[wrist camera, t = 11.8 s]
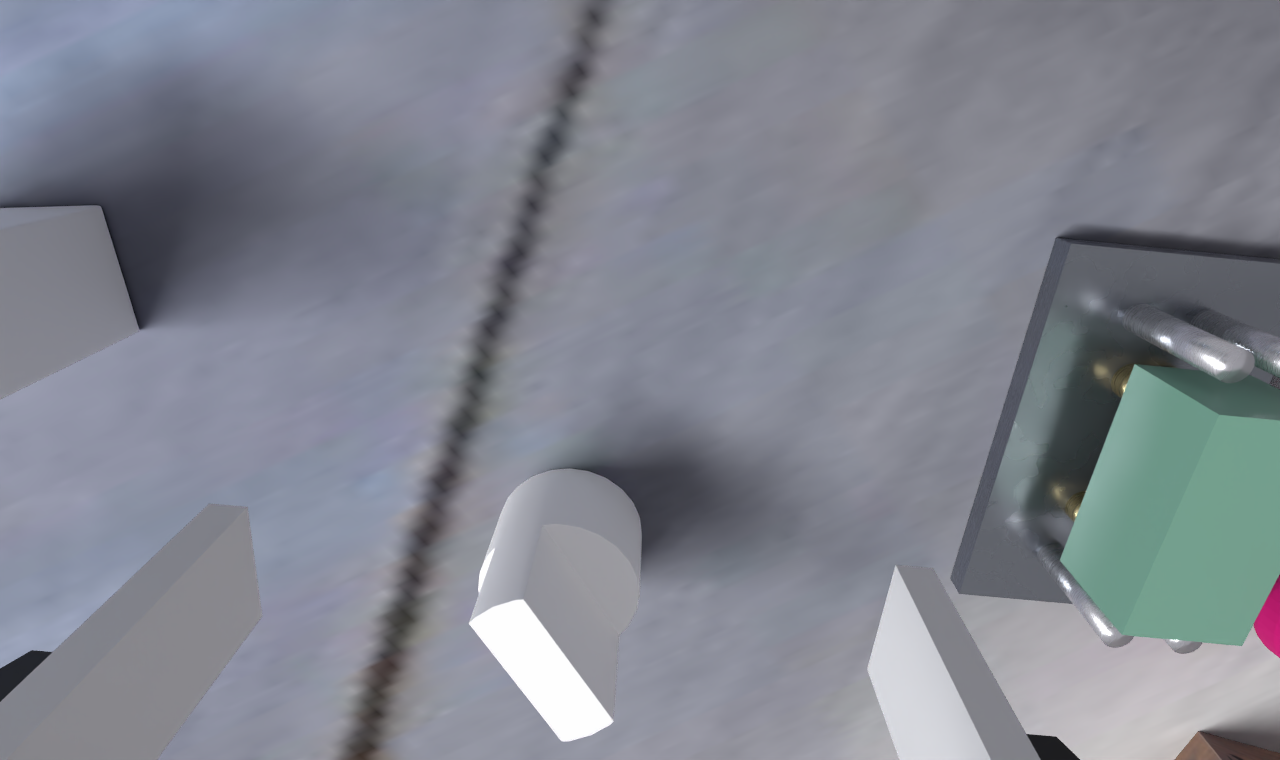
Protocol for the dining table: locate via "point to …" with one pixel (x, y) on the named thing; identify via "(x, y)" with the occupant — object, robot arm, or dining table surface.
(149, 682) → the robot arm
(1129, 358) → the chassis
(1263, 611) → the pepper mill
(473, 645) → the dining table surface
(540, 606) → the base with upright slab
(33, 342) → the milk carton
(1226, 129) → the dining table surface
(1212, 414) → the mint green rectangular block
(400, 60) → the dining table surface
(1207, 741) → the tissue box cover
